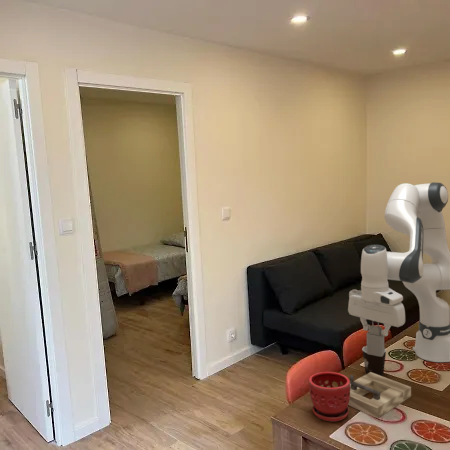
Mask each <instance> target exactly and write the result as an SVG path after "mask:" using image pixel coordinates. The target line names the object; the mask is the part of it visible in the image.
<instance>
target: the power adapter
mask: <svg viewBox="0 0 450 450" xmlns="http://www.w3.org/2000/svg"><path fill="white" fill-rule="evenodd" d="M371 321H372V320H371ZM379 323H380V322H377V325H374V321H372V322H371V324H372V325H370V326H369V331H366V346H367V354H370V355H375V356H380V357H382V356H383V355H384V349H385V336H383V335H381V330H383V327H382V326H379V325H380V324H379Z"/></svg>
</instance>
